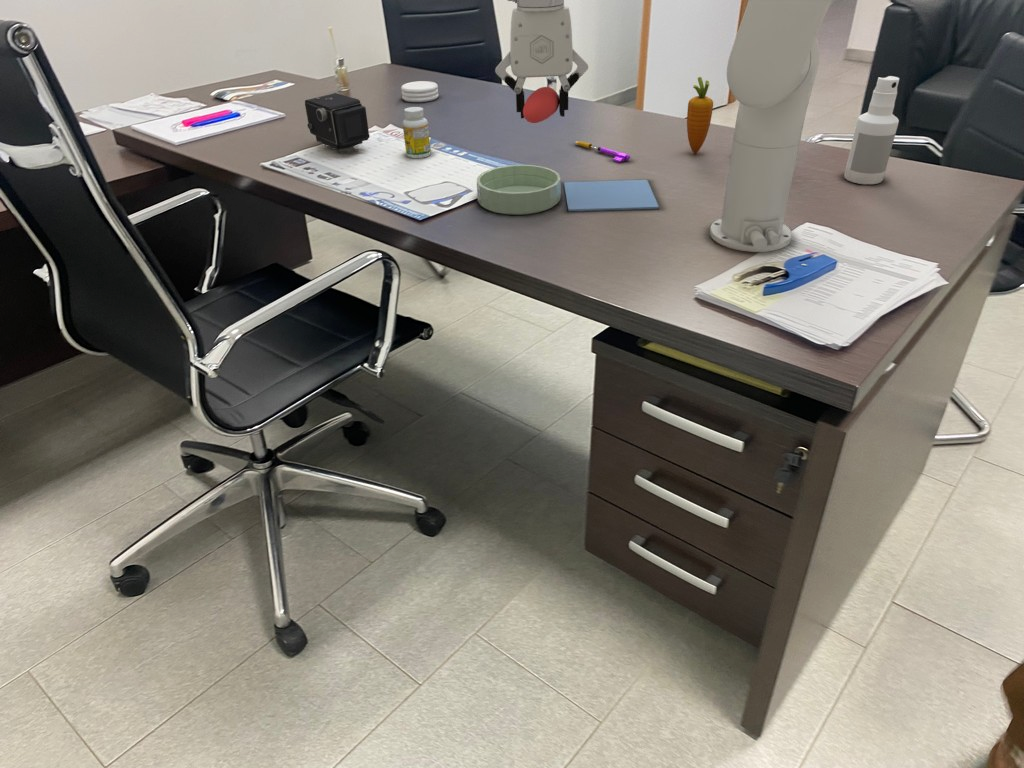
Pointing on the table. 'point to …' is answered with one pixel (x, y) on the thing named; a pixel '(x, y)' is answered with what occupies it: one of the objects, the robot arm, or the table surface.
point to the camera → (337, 121)
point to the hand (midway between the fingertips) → (542, 114)
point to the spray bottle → (874, 135)
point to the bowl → (518, 189)
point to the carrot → (699, 116)
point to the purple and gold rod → (606, 152)
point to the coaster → (419, 91)
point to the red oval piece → (541, 105)
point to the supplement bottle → (416, 133)
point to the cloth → (609, 195)
